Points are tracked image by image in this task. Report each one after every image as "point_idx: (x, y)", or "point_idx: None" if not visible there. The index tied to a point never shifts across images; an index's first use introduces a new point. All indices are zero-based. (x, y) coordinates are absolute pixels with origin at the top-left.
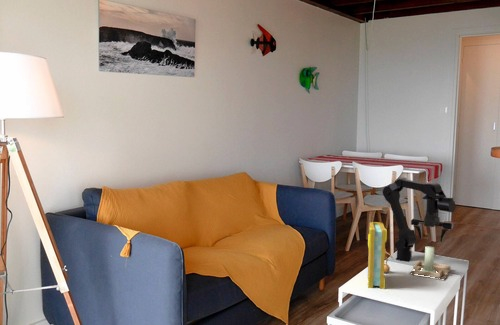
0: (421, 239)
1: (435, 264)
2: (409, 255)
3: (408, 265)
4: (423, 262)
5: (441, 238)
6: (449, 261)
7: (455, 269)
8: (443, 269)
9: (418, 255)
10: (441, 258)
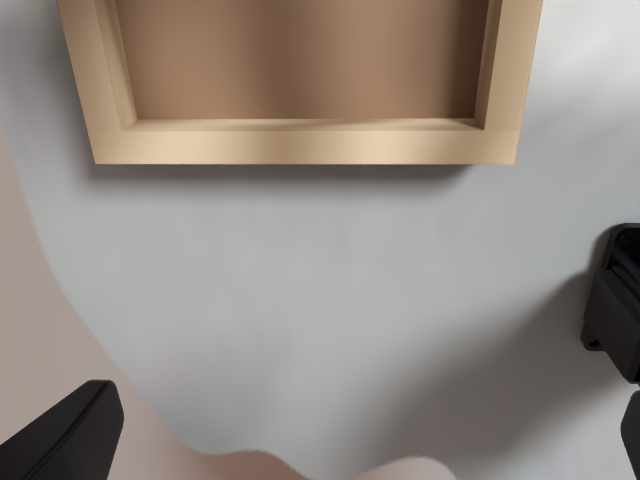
0: (634, 397)
1: (276, 129)
2: (636, 296)
3: (617, 64)
4: (435, 130)
5: (15, 456)
6: (230, 430)
7: (96, 217)
8: (167, 66)
9: (509, 470)
10: (310, 475)
